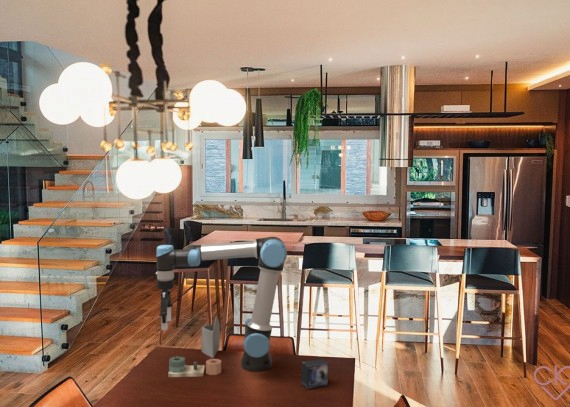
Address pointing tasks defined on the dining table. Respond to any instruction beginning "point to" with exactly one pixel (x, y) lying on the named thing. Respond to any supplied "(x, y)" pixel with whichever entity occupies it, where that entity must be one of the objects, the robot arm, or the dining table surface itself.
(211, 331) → the grey magazine holder
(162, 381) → the dining table surface
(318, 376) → the small box
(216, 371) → the loose gear
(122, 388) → the dining table surface
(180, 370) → the gear board
